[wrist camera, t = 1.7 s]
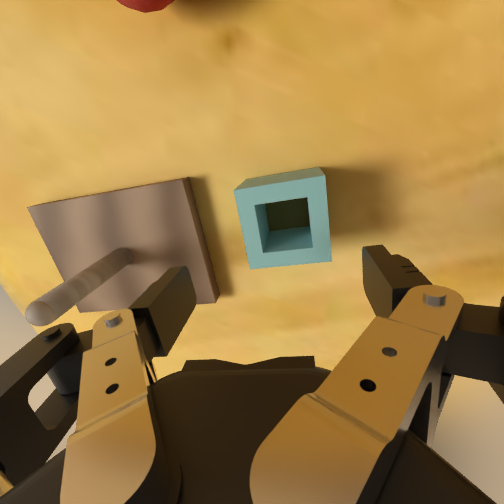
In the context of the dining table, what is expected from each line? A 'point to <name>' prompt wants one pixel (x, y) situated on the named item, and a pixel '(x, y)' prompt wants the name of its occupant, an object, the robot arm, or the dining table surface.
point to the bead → (285, 240)
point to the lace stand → (120, 247)
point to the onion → (146, 4)
